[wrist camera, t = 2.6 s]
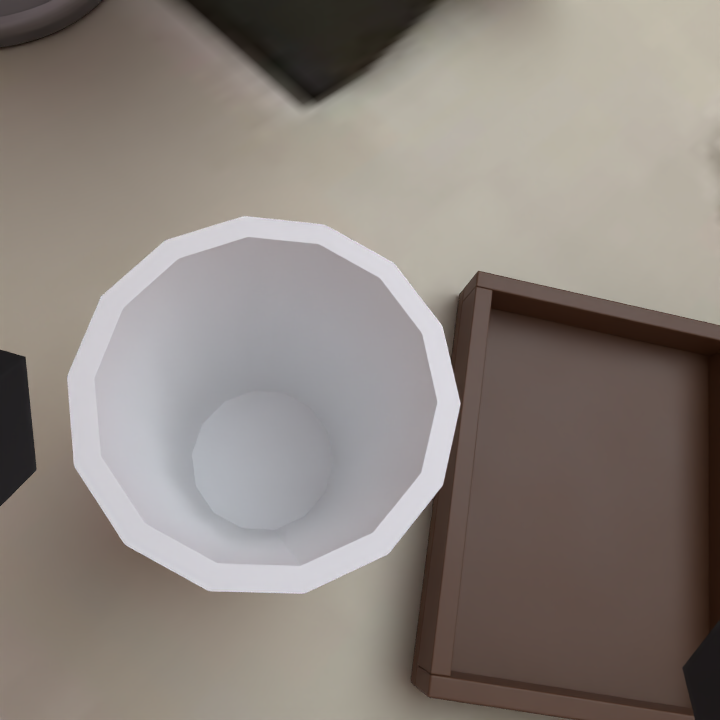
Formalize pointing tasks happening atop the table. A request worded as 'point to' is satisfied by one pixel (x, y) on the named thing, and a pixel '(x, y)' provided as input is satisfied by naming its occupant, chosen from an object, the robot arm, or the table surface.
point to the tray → (574, 508)
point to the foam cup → (262, 406)
